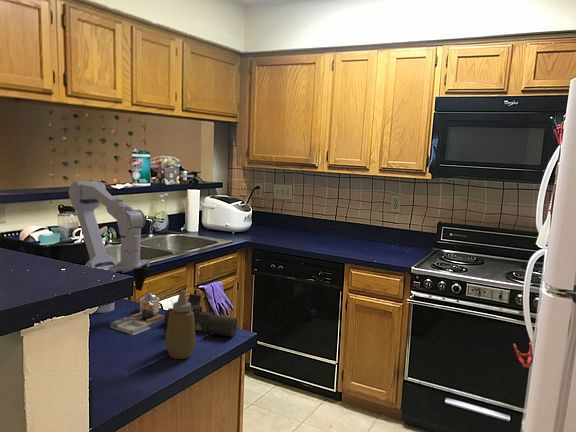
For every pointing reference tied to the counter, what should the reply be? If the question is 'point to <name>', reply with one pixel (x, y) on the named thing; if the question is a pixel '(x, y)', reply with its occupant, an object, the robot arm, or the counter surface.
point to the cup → (156, 301)
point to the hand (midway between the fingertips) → (129, 292)
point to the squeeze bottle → (180, 329)
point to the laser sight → (208, 319)
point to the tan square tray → (148, 321)
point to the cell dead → (149, 297)
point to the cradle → (129, 326)
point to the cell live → (147, 310)
